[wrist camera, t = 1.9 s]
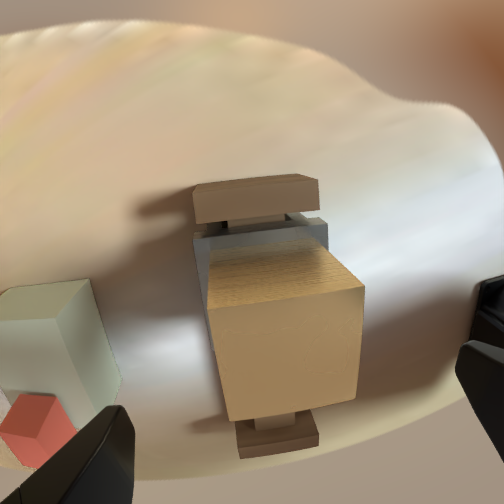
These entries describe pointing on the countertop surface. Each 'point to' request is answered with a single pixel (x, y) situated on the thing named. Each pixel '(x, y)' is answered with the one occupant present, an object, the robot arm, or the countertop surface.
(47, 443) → the red cube
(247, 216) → the brown i-shaped bar
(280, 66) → the countertop surface
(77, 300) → the cabinet
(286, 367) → the carriage
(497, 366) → the robot arm
